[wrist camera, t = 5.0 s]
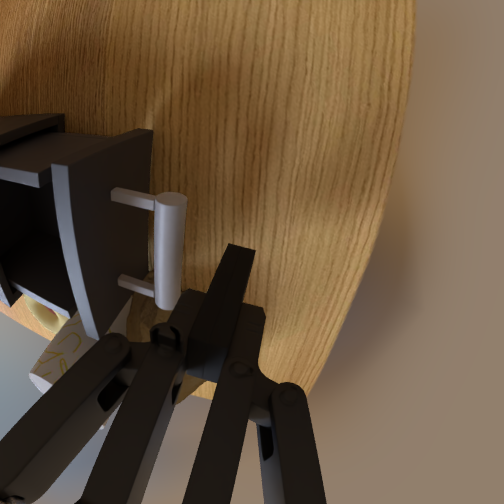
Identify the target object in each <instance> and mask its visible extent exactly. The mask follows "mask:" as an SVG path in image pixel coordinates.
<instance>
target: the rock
mask: <svg viewBox="0 0 504 504" xmlns="http://www.w3.org/2000/svg"><path fill="white" fill-rule="evenodd" d="M143 281H145V282H148V283H151V284H154V271H149V273H148V274H147V275H146V277H145V278H144V279H143ZM154 285H155V284H154ZM182 293H183V292H181V294H182ZM180 296H181V295H180ZM173 310H174V309H173ZM173 310H163V309H161V308H159V307H158V306H157V305H156V303H155V297H154V298H153V297H150V296H147V295H144V294H141V293H139V292H136V291H135V292H134V293H133V295H132V301H131V306H130V311H129V314H128V316H127V321H126V338H127V339H128V340H129V342H149V341H150V332H149V330H150V329H151V328H152V327H153V326H154V325H156V324H158V323H162V322H167V321H168V319H169V317H170V315H171V313H172V311H173ZM206 381H207V380H204V379H200V378H197V377H194V376H190V375H187V374H186V372H185V375H184V378H183V385H182V388H181V391H180V394H179V396H178V399H177V402H176V404H178V403H180V402H181V401H182V400H184V399H185V398H186V397H187V396H188V395H190V394H191V393H193V392H194V391H195V390H196V389H197V388H198V387H199V386H200V385H202V384H203V383H204V382H206Z"/></svg>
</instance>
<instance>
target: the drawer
mask: <svg viewBox="0 0 504 504" xmlns="http://www.w3.org/2000/svg"><path fill="white" fill-rule="evenodd" d="M152 141H153V130H148V129H140V128H138V129H135V130H132V131H129V132H126V133H123V134H120V135H117V136H115V137H110V136H100V135H89V134H77V133H61V132H35V133H32V134H29V135H27V136H24V137H22V138H19V139H16V140H14V141H12V142H9V143H7V144H5V145H2V146H0V262H1V265H2V268H3V271H4V274H5V276H6V279H7V281H8V284H9V285H11V286H12V287H14V288H16V289H17V290H19V291H20V292H22V293H24V294H25V295H27V296H29V297H31V298H32V299H34V300H36V301H37V302H39V303H41V304H43V305H45V306H46V307H48V308H50V309H52V310H54V311H56V312H58V313H59V314H61V315H63V316H65V317H67V318H69V319H71V318H72V317H73V316H74V315H75V313H76V312H77V311H79V314H80V317H81V320H82V323H83V326H84V329H85V332H86V335H87V336H89V337H91V338H93V339H96V340H99V339H100V338H101V337H103V336H104V335H105V334H106V333H107V331H108V330H109V328H110V327H111V325H112V324H113V322H114V321H115V319H116V318H117V316H118V315H119V313H120V312H121V310H122V309H123V308H124V306H125V305H126V303H127V302H128V300H129V299H130V298H131V296H132V295H133V293H134V292H135V291H136V292H139V293H141V294H144V295H147V296H150V297H153V298H154V297H155V303H156V305H157V306H158V307H159V308H161V309H163V310H173V309H174V307H175V305H176V304H177V301H178V299H179V298H180V295H181V275H182V259H183V246H184V233H185V222H186V211H187V202H188V199H187V197H186V196H185V195H183V194H181V193H177V192H163V193H160V194H158V195H157V196H155V195H150V194H149V183H150V166H151V153H152ZM148 210H152V211H154V210H155V218H154V284H155V285H154V284H151V283H148V282H145V281H143V279H144V278H145V277H146V275H147V274H148V273H149V261H148Z"/></svg>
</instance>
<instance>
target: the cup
mask: <svg viewBox="0 0 504 504" xmlns="http://www.w3.org/2000/svg"><path fill="white" fill-rule="evenodd" d="M131 301H132V297H131V298H130V299H129V300H128V302H127V303H126V305H125V306H124V308H123V309H122V310H121V312H120V313H119V315H118V316H117V318H116V319H115V321H114V322H113V324H112V325H111V327H110V328H109V330H108V331H107V333H106V334H108V333H112V332H114V333H120V334H122V335H124V336H125V337H126V321H127V316H128V314H129V311H130V306H131ZM106 334H105V335H106ZM97 341H98V340H96V339H93V338H91V337H89V336H87V335H86V332H85V329H84V326H83V323H82V320H81V317H80V314H79V311H77V312H76V313H75V315H74V316H73V317H72V318H71V319H68V320H67V321H66V322H65V324H64V325H63V326H62V328H61V329H60V330H59V332H58V333H57V334H56V336H55V337H54V338H53V340H52V341H51V343H50V344H49V345H48V347H47V348H46V350H45V351H44V352H43V354H42V355H41V357H40V358H39V360H38V361H37V363H36V364H35V365H34V367H33V368H32V370H31V371H30V373H29V377H30V379H31V381H32V382H33V383H34V385H35V386H36V387H37V388H38V389H39V390H40V391H41V392H42V393H43V394H45V393H46V392H47V391H48V390H49V389H50V387H51V386H52V385H53V384H54V383H55V382H56V381H57V380H58V379H59V378H60V377H61V376H62V375H63V374H64V373H65V372H66V371H67V370H68V369H69V368H70V367H71V366H72V365H73V364H74V363H76V362H77V361H78V360H79V359H80V358H81V357H82V356H83V355H84V354H85V353H86V352H87V351H88V350H89V349H90V348H91V347H92V346H93V345H94V344H95V343H96V342H97ZM108 419H109V418H108ZM108 419H107V420H108ZM107 420H106V421H105V422H104V424H103V425H102V426H101V427H100V428H99V429H104V427H105V425H106V423H107Z"/></svg>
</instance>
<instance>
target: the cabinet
mask: <svg viewBox="0 0 504 504" xmlns="http://www.w3.org/2000/svg"><path fill="white" fill-rule="evenodd" d="M64 118H65V114H29V115H15V116H3V117H0V146H2V145H5V144H7V143H9V142H12V141H14V140H16V139H19V138H22V137H24V136H27V135H29V134H32V133H35V132H61V133H64ZM22 294H23V293H22V292H20V291H19V290H17V289H16V288H14V287H12V286H11V285H9V284H8V281H7V279H6V276H5V274H4V271H3V268H2V265H1V262H0V300H1V301H2V302H3V303H5V304H6V305H8V306H9V307H11V306H12V305H13V304H14V303H15V302H16V301H17V300H18V299H19V298H20V297H21V295H22Z"/></svg>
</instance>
